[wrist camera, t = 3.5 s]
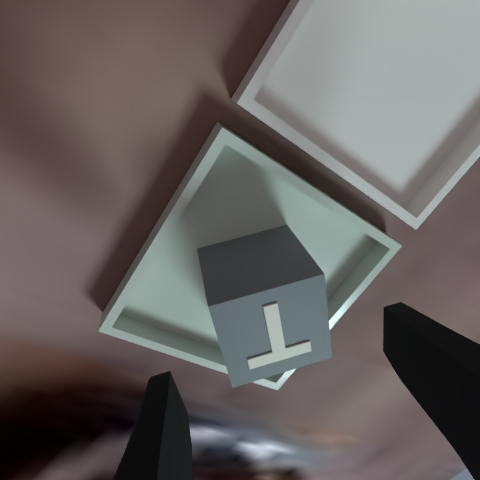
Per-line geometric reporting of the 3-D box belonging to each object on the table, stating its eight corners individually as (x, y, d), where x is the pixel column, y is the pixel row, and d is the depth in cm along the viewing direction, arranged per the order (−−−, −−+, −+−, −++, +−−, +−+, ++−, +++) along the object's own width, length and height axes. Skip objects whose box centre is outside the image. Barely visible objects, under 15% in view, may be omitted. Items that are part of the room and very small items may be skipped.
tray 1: (565, 21, 14) (598, 18, 13) (399, 218, 17) (416, 229, 16) (413, -206, 10) (442, -235, 9) (230, 99, 13) (236, 103, 12)
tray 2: (387, 234, 17) (402, 245, 16) (271, 372, 20) (277, 390, 19) (217, 121, 13) (222, 127, 12) (102, 313, 16) (97, 331, 15)
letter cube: (287, 224, 15) (325, 274, 12) (297, 296, 17) (332, 358, 14) (196, 248, 15) (208, 308, 11) (217, 319, 17) (232, 389, 13)
